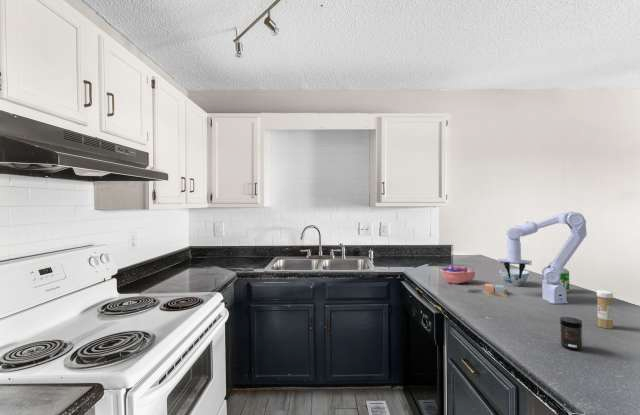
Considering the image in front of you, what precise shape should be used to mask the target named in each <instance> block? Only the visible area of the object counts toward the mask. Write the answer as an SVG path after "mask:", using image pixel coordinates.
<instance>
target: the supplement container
mask: <svg viewBox="0 0 640 415" xmlns="http://www.w3.org/2000/svg"><path fill="white" fill-rule="evenodd" d="M559 331H560V332H559V334H560V336H559V338H560V341H559V342H560V343H559V344H560V346H562V347H563V348H564V349H566V350H570V351H573V352H574V351H575V352H577V351H578V352H581V351H582V350H583V349H584V348H583V346H584V343H583V341H584V340H583V320H581V319H579V318H575V317H570V316H561V317H559Z"/></svg>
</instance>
